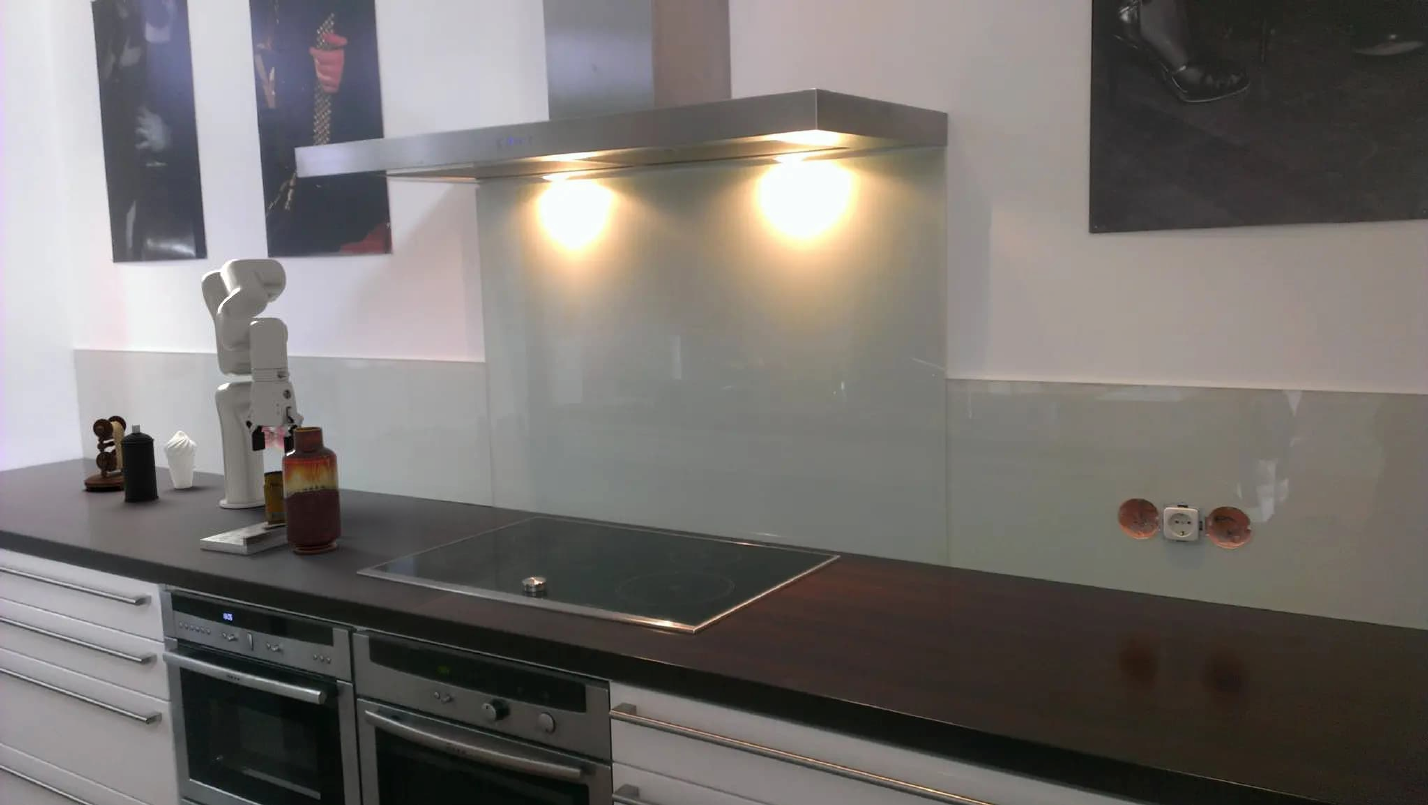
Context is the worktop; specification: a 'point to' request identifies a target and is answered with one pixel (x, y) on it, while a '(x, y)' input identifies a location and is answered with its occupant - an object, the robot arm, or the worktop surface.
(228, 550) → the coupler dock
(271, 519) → the condiment
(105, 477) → the brown wooden figurine
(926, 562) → the worktop surface
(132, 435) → the aerosol can
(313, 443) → the vase
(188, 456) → the soft serve ice cream cone
